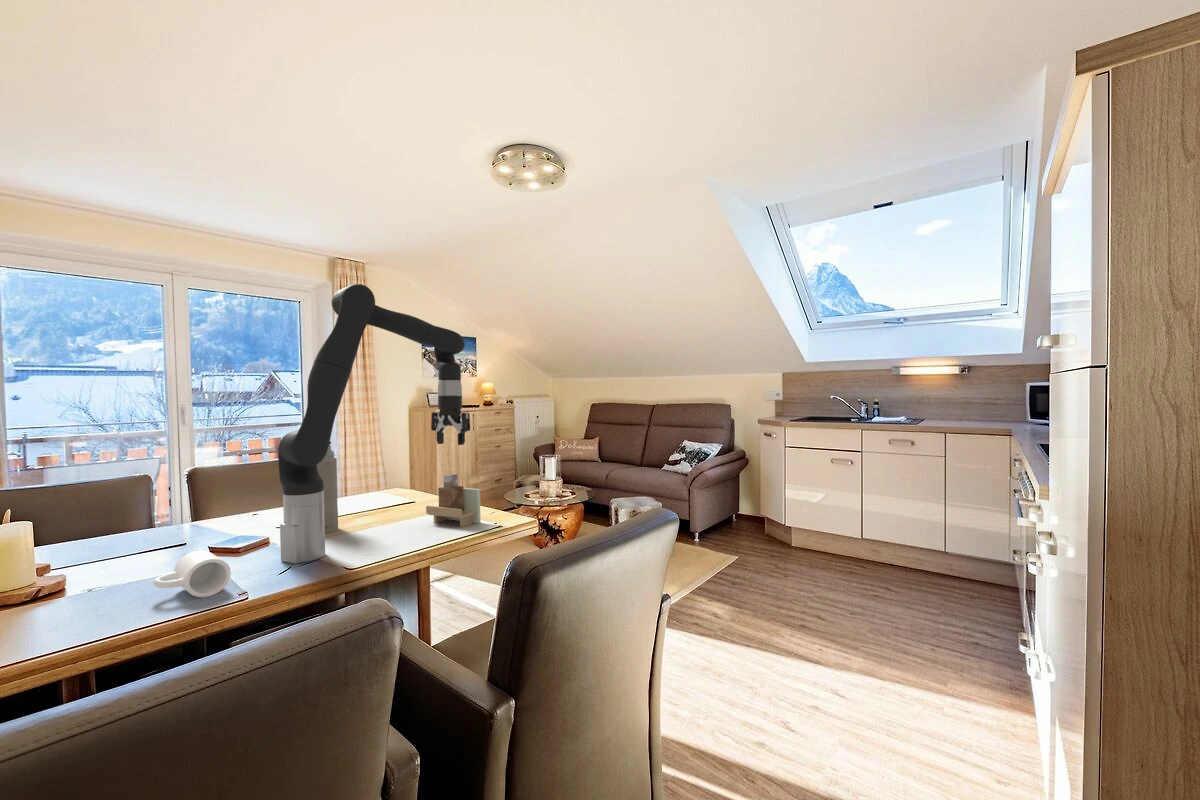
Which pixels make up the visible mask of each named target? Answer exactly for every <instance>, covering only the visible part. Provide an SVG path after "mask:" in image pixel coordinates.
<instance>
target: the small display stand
mask: <svg viewBox="0 0 1200 800" xmlns="http://www.w3.org/2000/svg"><path fill="white" fill-rule="evenodd" d="M443 486H444V485H440V486H439V487H443ZM463 490H464V511H462V509H455V508H446V507H439V506H438V505H437V506H435V505H425V513H426V514H427V515H428V516H433V524H439V523H442V522H445V521H453V520H455V521H454V522H459V527H460V526H461V527H466V526H468V525H471V524H481V491H480V490H481V489H480V488H472V487H471V488H470V487H463ZM447 519H448V520H447ZM444 520H445V521H444ZM441 521H442V522H441ZM438 522H439V523H438Z"/></svg>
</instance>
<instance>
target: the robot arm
mask: <svg viewBox="0 0 1200 800" xmlns="http://www.w3.org/2000/svg"><path fill="white" fill-rule="evenodd" d="M331 307H332V309H333V312H334V313H335V314H337V318H336V321H335V324H334V326H333V328H332V330H331V332H330V334H329V335H328V337H327V338H326V339H325V341H324V342H323V343H322V346H321V347H320V348H319V351H318V352H317V354H316V356H315V359H314V360H313V364H312V366H311V369H310V372H309V375H308V378H307V379H308V380H307V390H306V391H307V393H306V394H307V401H306V402H307V405H306V410H305V414H304V417H303V418H302V422H301V425H300V426H299V428H298V430H292V431H290V432H288V433H286V434H285V435H284V436H282V438H281V440H280V441H279V444H278V448H277V449H278V451H277V459H278V460H277V461H278V463H277V464H278V473H279V476H278V477H279V482H280V484H281V488H282V500H283V501H282V503H283V523H280V525H279V535H280V562H285V563H291V564H295V565H296V564H297V565H298V564H300V563H307V562H310V561H316V560H318V559H321V558H323V557H324V556H325V555H326V538H325V537H326V533H325V525H324V483H323V480H322V478H321V477H320V476H319V474H318V471H317V464H319V463H320V462H321V461H322V460H323V459H324V457H325V455H326V454H327V451H328V447H329V442H330V441H331V437H332V432H333V426H334V423H335V419H336V417H337V414H338V410H339V407H340V404H341V402H342V399H343V396H344V393H345V390H346V387H347V384H348V382H349V378H350V376H351V373H352V370H353V366H354V363H355V359H356V357H357V354H358V350H359V346H360V343H361V339H362V337H363V334H364V331H365V330H366V328H367V326H372V327H375V328H378V329H381V330H384V331H388V332H390V333H393V334H395V335H398V336H400V337H403V338H405V339H408V340H410V341H412V342H415V343H418V344H420V345H423V346H427V347H428V346H432V347H433V351H434V355H435V356H434V357H435V359H436V364H437V368H438V371H437V372H438V376H437V377H438V381H437V382H438V384H437V385H438V386H437V409H438V410H439V411H436V412H435V411H434V412H431V425H430V427H431V428H430V430H431V431H434V432H435V434H436V442H437V444H438V445H442V444H444V442H445V435H444V434H445V432H444V430H445V429H446V428H447V427H448V426H450V427H453V428H455V430H456V431H457V445H458V446H463V445H464V444H465V443H466V433H467V432H470V431H471V421H470V419H471V417H470V412H462V408H463V386H462V371H461V370H462V368H461V365H460V363H458V362H456V359H455V355H457V354H459V353H461V352H462V351H464V348H465V346H466V345H465V344H466V343H465V339H464V338H463V336H462V335H461V334H459V333H458V332H456V331H454V330H452V329H449V328H445V327H441V326H437V325H434V324H431V323H429V322H428V321H425V320H424V319H420V318H418V317H416V316H413V315H410V314H406V313H403V312H398V311H394V310H391V309H387V308H384V307H381V306H379V305H376V298H375V295H374V293H373V291H372V290H371V289H370V288H369V287H368V286H367V285H364V284H361V283H360V284H359V283H355V284H350V285H347V286H345V287H343V288H341V289H339V290H337V291H336V292H335V293H334V294H333V295H332V297H331Z"/></svg>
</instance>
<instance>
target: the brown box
mask: <svg viewBox="0 0 1200 800" xmlns="http://www.w3.org/2000/svg"><path fill="white" fill-rule="evenodd" d="M442 486H443V487H440V486H439V487H438V507H446V508H455V509H462V511H464V490H463V488H464V485H459V474H458V473H449V474H444V475H443V485H442Z"/></svg>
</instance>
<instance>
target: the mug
mask: <svg viewBox="0 0 1200 800" xmlns="http://www.w3.org/2000/svg"><path fill="white" fill-rule="evenodd" d="M231 575H232V571H231V567H230V566H229V564H228V563H227V562H226V561H224V560H223V559H221V558H220V557H219V556H217V555H216V554H214V553H212V552H210V551H207V550H195V551H194V550H193V551H191V552H189V553H187V554H185V555H184V556H182V557H181V558H180V559H179V560H178V562H177V563H176V565H175V566H174V569H173V571H172V572H169V573H165V574H163V575H160V576H158V577H156V578H155V579H154V580H153V585H154V587H155V588H159V589H169V588H176V587H182V588H183V589H184V590H185V591H186V592H187V593H189V595H191V596H194V597H196V598H208V597H212V596H215V595H217V594H218V593H220V592H221V591H222V590H224V589H225V588H226V586H227V585H228V584H229V581H230V579H231Z"/></svg>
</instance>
